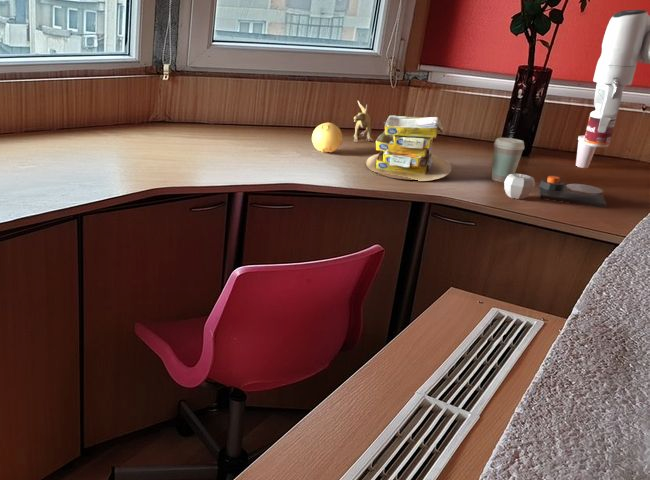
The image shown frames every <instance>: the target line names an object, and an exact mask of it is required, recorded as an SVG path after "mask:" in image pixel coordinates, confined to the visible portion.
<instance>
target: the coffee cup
mask: <svg viewBox="0 0 650 480" xmlns="http://www.w3.org/2000/svg"><path fill="white" fill-rule="evenodd" d="M524 150H525V142H524V140H521V139H518V138H512V137H498V138H496V139H495V141H494V142H493V156H492V167H491V180H493V181H495V182H499V183H504V181H505V179H506V178H507V176H508V175H509V174H516V171H517V168H518V166H519V163H520V160H521V157H522V154H523V151H524Z"/></svg>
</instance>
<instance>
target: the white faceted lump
mask: <svg viewBox="0 0 650 480" xmlns="http://www.w3.org/2000/svg"><path fill="white" fill-rule="evenodd" d="M535 186H536V182H535V178H534V177H533V176H531V175H527V174H522V173H515V174H509V175H508V176H507V178H506V179H505V181H504V182H503V188H504V192H505V195H506V196H507V197H509V198H511V199H514V198H515V199H514V200H525V199H526V198H527V197H528V196H529V195H530V194H531V193H532V191H533V189H534V187H535Z"/></svg>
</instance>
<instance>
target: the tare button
mask: <svg viewBox="0 0 650 480" xmlns="http://www.w3.org/2000/svg"><path fill="white" fill-rule="evenodd" d="M546 179H547V182H549V183H554V184H558V183H559V181H560V176H556V175H548V176H547V178H546Z"/></svg>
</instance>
